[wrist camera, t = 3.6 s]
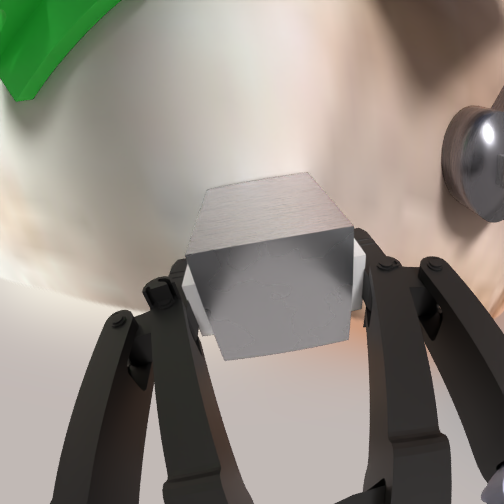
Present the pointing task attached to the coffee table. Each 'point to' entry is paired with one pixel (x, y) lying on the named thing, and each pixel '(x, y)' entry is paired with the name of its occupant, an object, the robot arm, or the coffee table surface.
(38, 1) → the mechanical part
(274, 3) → the coffee table surface
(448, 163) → the ladle
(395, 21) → the coffee table surface
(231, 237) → the grey metal block
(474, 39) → the coffee table surface
